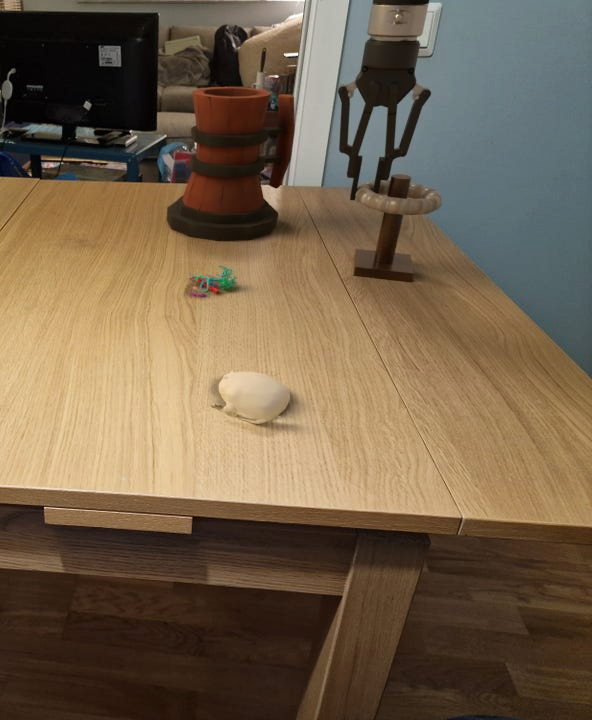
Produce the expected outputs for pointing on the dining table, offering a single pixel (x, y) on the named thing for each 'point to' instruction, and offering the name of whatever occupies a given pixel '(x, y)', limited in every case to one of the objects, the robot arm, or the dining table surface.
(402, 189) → the stand
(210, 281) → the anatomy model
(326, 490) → the dining table surface
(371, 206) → the bracelet
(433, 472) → the dining table surface
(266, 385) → the garlic
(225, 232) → the tankard
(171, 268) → the dining table surface
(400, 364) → the dining table surface
